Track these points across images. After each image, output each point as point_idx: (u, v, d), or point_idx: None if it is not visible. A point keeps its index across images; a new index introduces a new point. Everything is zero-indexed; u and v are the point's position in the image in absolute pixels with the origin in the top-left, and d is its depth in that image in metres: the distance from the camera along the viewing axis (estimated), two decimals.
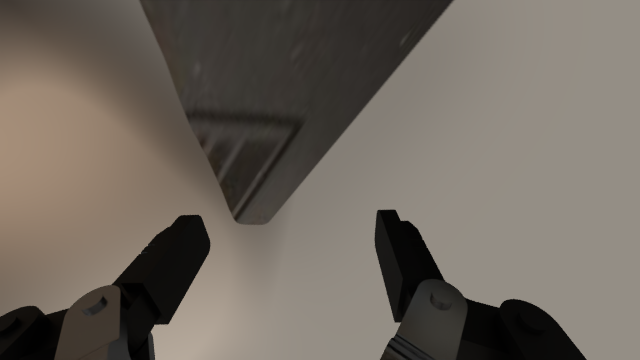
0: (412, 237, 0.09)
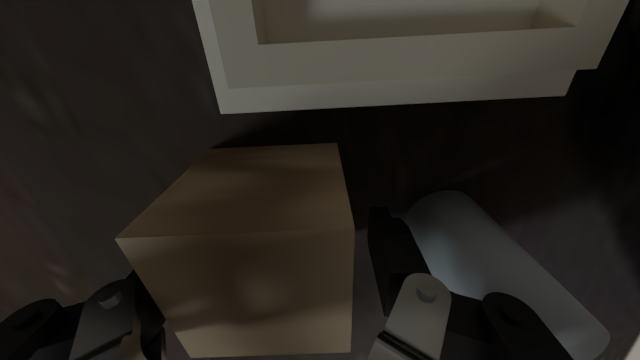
0: (402, 233, 0.09)
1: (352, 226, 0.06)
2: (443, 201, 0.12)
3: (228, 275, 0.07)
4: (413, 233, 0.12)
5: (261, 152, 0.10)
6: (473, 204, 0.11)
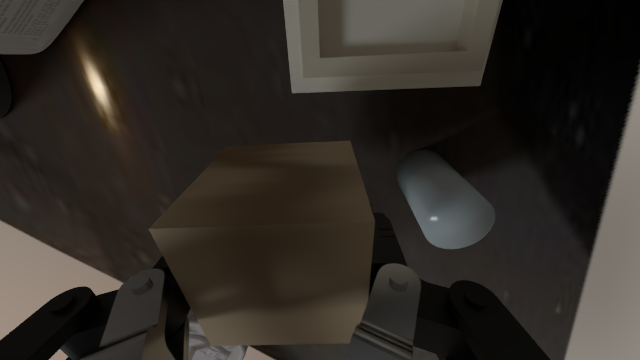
0: (383, 227, 0.09)
1: (372, 219, 0.06)
2: (420, 155, 0.18)
3: (252, 265, 0.07)
4: (400, 177, 0.19)
5: (277, 150, 0.11)
6: (439, 157, 0.18)
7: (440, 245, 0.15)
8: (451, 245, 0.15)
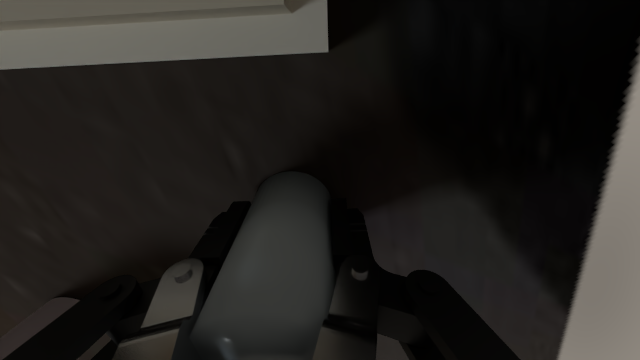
0: (356, 222, 0.10)
1: None
2: (273, 184, 0.10)
3: None
4: None
5: None
6: (303, 188, 0.10)
7: None
8: None
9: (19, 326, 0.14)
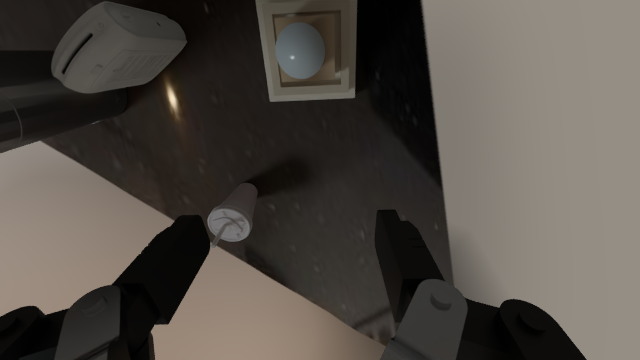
0: (412, 237, 0.09)
1: (333, 14, 0.23)
2: None
3: None
4: None
5: None
6: None
7: (293, 75, 0.20)
8: (301, 75, 0.20)
9: (239, 187, 0.40)
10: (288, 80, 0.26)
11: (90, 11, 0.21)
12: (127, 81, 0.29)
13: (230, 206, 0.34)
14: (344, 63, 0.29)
